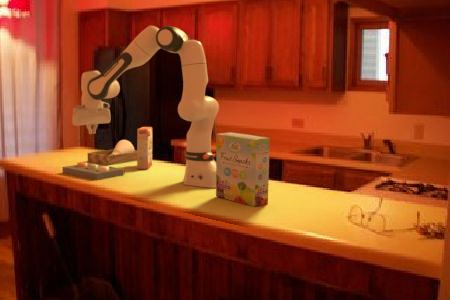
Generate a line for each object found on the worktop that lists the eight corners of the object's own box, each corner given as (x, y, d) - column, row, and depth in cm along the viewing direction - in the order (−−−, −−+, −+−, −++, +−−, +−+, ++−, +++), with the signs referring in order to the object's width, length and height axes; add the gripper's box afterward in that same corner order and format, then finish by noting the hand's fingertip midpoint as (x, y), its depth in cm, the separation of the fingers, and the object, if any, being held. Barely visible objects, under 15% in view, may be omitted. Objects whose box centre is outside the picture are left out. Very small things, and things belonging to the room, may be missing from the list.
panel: (123, 175, 238) (123, 169, 238) (97, 180, 226) (97, 173, 225) (89, 168, 254) (89, 162, 253) (62, 173, 241) (62, 167, 241)
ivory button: (111, 175, 235) (111, 166, 235) (103, 177, 231) (102, 168, 231) (104, 174, 238) (104, 165, 238) (96, 176, 234) (96, 167, 234)
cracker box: (148, 169, 254) (148, 129, 251) (136, 169, 254) (136, 129, 251) (153, 165, 267) (152, 126, 264) (141, 164, 268) (141, 126, 265)
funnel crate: (142, 159, 284) (142, 151, 283) (107, 165, 264) (107, 156, 263) (122, 156, 294) (122, 148, 293) (87, 161, 274) (87, 152, 273)
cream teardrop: (108, 146, 268) (124, 135, 284) (96, 158, 273) (113, 147, 289) (122, 162, 269) (138, 150, 285) (110, 173, 274) (126, 162, 290)
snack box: (213, 197, 197) (214, 133, 194) (229, 193, 203) (230, 131, 200) (254, 207, 182) (255, 138, 178) (269, 203, 188) (271, 136, 184)
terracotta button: (90, 171, 245) (89, 163, 244) (81, 173, 241) (81, 164, 240) (83, 170, 248) (83, 161, 247) (75, 171, 244) (75, 163, 243)
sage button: (100, 173, 240) (100, 164, 240) (92, 175, 236) (91, 166, 236) (93, 172, 243) (93, 163, 243) (85, 174, 239) (85, 165, 239)
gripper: (77, 105, 225) (78, 136, 227) (112, 104, 241) (112, 132, 243) (68, 105, 228) (69, 135, 230) (103, 103, 245) (104, 131, 247)
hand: (92, 133), depth 237 cm, fingers closed
